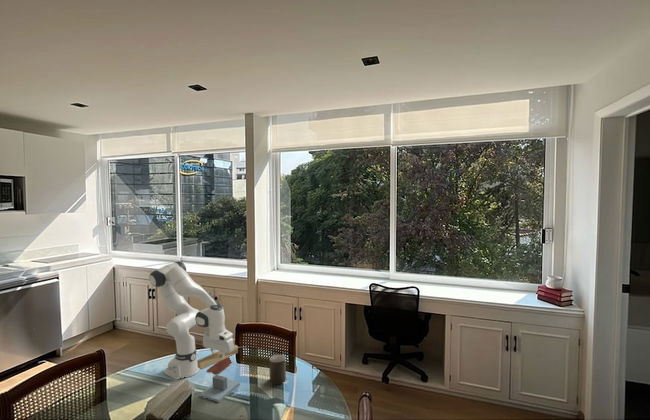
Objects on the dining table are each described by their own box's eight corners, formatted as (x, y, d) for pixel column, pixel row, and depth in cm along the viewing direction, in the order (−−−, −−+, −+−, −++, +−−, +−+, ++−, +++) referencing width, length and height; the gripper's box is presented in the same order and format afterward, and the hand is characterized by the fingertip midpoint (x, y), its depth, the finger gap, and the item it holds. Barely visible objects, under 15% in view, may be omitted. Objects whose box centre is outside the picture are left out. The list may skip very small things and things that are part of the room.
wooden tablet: (217, 375, 215) (217, 373, 215) (205, 372, 219) (205, 370, 218) (242, 355, 240) (242, 353, 239) (231, 353, 243) (231, 351, 243)
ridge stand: (199, 396, 193) (199, 383, 192) (221, 379, 209) (220, 367, 209) (219, 402, 187) (218, 388, 186) (239, 384, 203) (239, 371, 203)
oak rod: (197, 367, 189) (197, 360, 189) (234, 350, 207) (233, 344, 207) (201, 369, 186) (201, 362, 186) (238, 352, 205) (237, 346, 204)
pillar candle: (278, 386, 201) (277, 362, 200) (266, 380, 207) (266, 357, 206) (289, 378, 208) (288, 355, 207) (278, 373, 214) (277, 350, 213)
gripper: (199, 332, 197) (200, 355, 198) (227, 338, 189) (228, 362, 190) (207, 328, 203) (208, 350, 204) (235, 334, 194) (236, 357, 195)
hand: (218, 356), depth 197 cm, fingers closed on oak rod, 5 cm apart
